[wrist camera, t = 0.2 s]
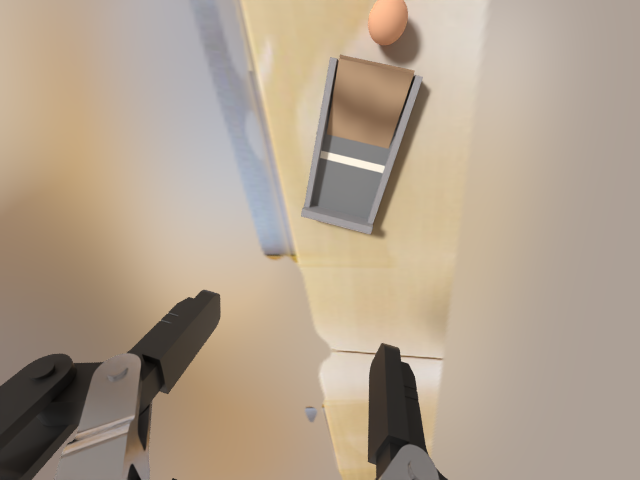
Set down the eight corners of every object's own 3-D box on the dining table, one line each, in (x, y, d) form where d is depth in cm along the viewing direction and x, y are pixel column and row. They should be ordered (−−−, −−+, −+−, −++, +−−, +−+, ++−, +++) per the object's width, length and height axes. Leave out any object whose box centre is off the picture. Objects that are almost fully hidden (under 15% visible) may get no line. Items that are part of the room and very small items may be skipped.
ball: (374, -1, 26) (374, -18, 23) (410, 6, 26) (416, -10, 23) (364, 45, 28) (362, 36, 25) (398, 52, 28) (401, 44, 25)
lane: (332, 60, 30) (328, 55, 27) (420, 78, 29) (424, 75, 26) (305, 209, 39) (300, 216, 37) (370, 226, 39) (370, 234, 36)
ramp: (342, 59, 30) (339, 54, 27) (411, 73, 29) (415, 70, 27) (328, 133, 34) (324, 135, 32) (387, 147, 34) (389, 150, 31)
